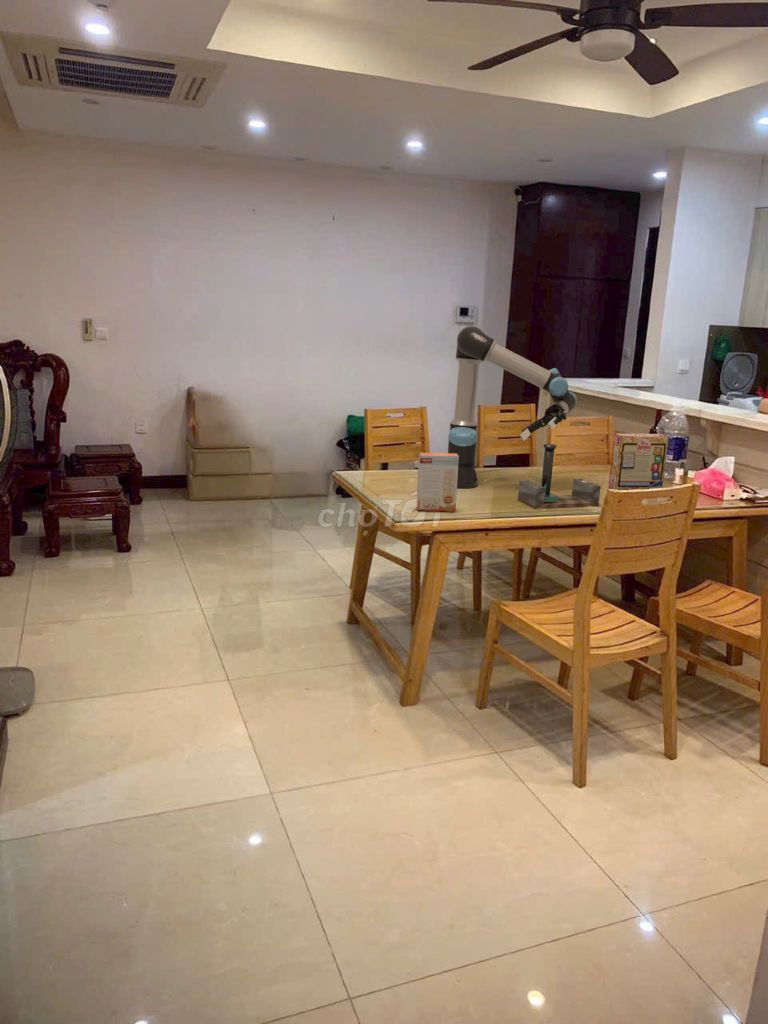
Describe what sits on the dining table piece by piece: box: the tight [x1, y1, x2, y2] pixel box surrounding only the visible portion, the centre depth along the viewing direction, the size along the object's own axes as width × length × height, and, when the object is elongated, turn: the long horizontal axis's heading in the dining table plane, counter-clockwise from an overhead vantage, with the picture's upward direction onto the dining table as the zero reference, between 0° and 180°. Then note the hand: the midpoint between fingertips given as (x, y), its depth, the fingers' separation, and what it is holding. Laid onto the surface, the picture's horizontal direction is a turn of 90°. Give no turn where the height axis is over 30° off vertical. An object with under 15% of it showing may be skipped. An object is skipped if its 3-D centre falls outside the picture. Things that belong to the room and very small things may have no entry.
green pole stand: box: [540, 443, 559, 502], centre depth 290 cm, size 6×10×21 cm, turn 18°
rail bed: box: [517, 478, 601, 510], centre depth 294 cm, size 28×13×8 cm, turn 108°
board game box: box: [607, 433, 670, 490], centre depth 301 cm, size 20×6×27 cm, turn 98°
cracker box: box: [416, 452, 459, 513], centre depth 275 cm, size 14×6×21 cm, turn 92°
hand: (535, 432), depth 299 cm, fingers open, 13 cm apart
